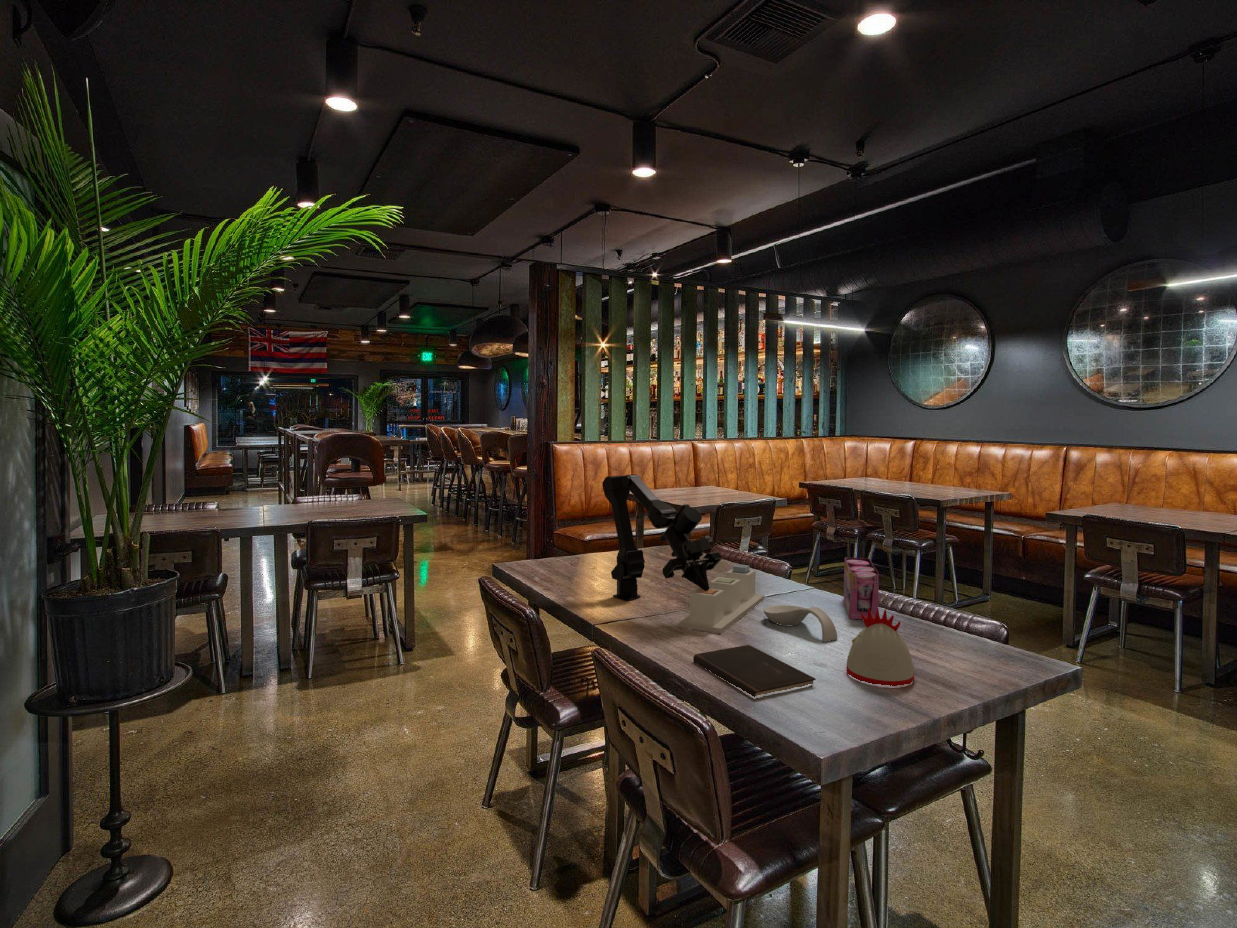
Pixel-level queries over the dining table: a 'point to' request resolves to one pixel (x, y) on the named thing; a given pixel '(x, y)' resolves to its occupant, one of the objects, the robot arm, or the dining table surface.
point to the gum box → (860, 587)
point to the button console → (722, 603)
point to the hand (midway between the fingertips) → (707, 589)
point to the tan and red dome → (880, 653)
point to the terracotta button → (708, 591)
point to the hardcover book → (752, 670)
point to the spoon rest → (801, 618)
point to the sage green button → (725, 580)
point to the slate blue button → (741, 568)
